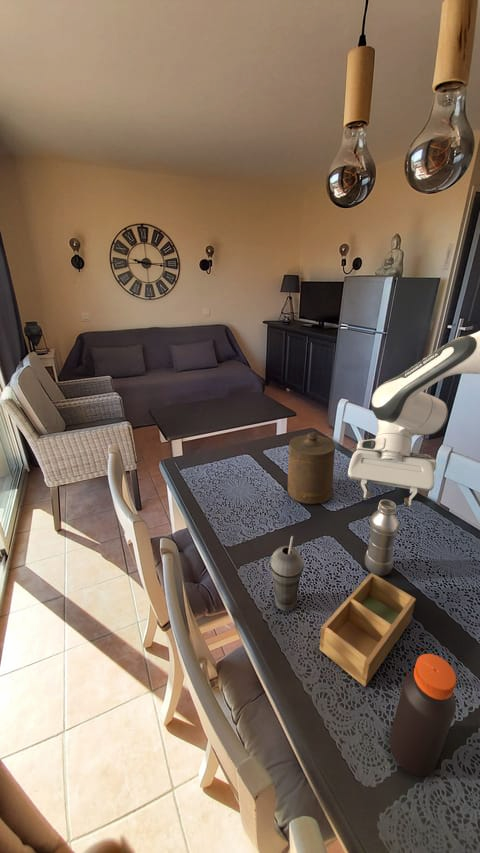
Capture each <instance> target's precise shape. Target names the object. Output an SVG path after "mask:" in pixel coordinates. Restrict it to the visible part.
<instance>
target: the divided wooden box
mask: <svg viewBox="0 0 480 853" xmlns="http://www.w3.org/2000/svg"><path fill="white" fill-rule="evenodd" d="M416 601H417V599H416V598H415V597H414V596H412V595H410V594H409V593H407V592H405V591H404V590H402V589H400V588H398V587H397V586H395V585H394V584H392V583H390V582H389V581H387V580H385V579H383V578H382V577H381V576H378V575H375V574H373V573H371V572H370V573H369V574H368V575H367V576H366V577H365V578H364V580H362V582H360V584H359V585H358V586H357V587H356V589H354V590H353V592H351V594H350V595H349V596H348V597H347V598H346V599H345V601H343V603H342V604H341V605H340V606H339V607H338V608H337V609H336V610H335V611H334V612H333V614H332V615H331V616H329V618H328V619H327V620H326V621H325V622H324V624H323V625H322V626H320V627H321V629H320V638H319V639H320V640H319V650H320V651H321V652H322V653H323V654H324V655H325V656H327V657H328V658H329V659H330V660H331V661H332V662H334V663H335V664H336V665H338V666H339V667H340V668H341V669H342V670H344V672H346V673H347V674H348V675H349V676H351V677H352V678H353V679H355V680H356V681H357V682H358V683H359V684H360V685H361V686H363V687H364V688H366V687H367V686H368V684H369V682H370V681H371V680H372V678H373V677H374V675H375V674H376V672H377V671H378V669H379V667H380V666H381V665H382V664H383V662H384V661H385V659H386V658H387V657H388V655H389V654H390V652H391V650H392V649H393V648H394V646H395V645H396V643H397V641H398V640H399V639H400V637H401V636H402V634H403V633H404V631H405V630H406V628H407V627H408V626H409V624H410V623H411V621H412V618H413V614H414V609H415V604H416Z"/></svg>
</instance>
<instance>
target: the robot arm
mask: <svg viewBox="0 0 480 853" xmlns="http://www.w3.org/2000/svg"><path fill="white" fill-rule="evenodd" d="M463 374H464V375H465V374H469V375H470V374H472V375H480V330H478V331H475V332H473V333H471V334H468V335H463V336H459V337H456V338H454V339H452V340H450V341H448V342H446V343H445V344H443V345H442V346H441V347H439V348H437V349H436V350H434V351H432V353H430V354H428V355H427V356H425V357H424V358H422V359H421V360H420V361H418V362H416V363H415V364H414V365H413V366H411V367H409V368H408V369H406V370H405V371H404V372H402V373H400V374H399V375H396V376H394V377H393V378H390V379H388V380H386V381H384V382H382V383H381V384H380V385H379V386H377V387H376V389H374V391H373V393H372V395H371V398H370V405H371V406H370V407H371V409H372V412H373V414H374V417H375V418H376V419H377V427H378V428H377V432H376V435H375V438H371V439H364V440H359V441H358V442H357V444H356V451H354V452H353V454H352V456H351V458H350V460H349V461H350V462H349V465H348V470H347V476H348V478H349V480H352V481H359V482H360V487H361V489H362V491H363V499H364V500H371V491H370V490H367V483H369V484H370V483H371V484H375V485H376V484H377V485H383V486H388V487H395V488H401V489H407V490H409V494H410V495H409V497H404V498H403V507H407V508H411V506H412V500H413V499H414V498H415V496H416V495H417V494H418V492H425V493H429V492H431V491H432V490H433V489H434V488H435V474H434V473H435V472H436V469H437V461H436V459H435V458H434V457H432V456H431V455H430V454H422V453H418V452H412V443H413V439H412V438H413V436H430V435H433V434H436V433H438V432H440V431H441V429H443V427H444V426H445V424H446V423H447V420H448V416H449V414H448V413H449V410H448V406H447V403H446V402H445V401H443V400H442V399H440V398H439V397H436V396H434V395H431V394H429V393H427V392H423V391H425V390H426V389H428V388H430V387H431V386H433V385H434V384H436V383H438V382H439V381H441V380H443V379H445V378H447V377H450V376H454V375H463Z"/></svg>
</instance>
